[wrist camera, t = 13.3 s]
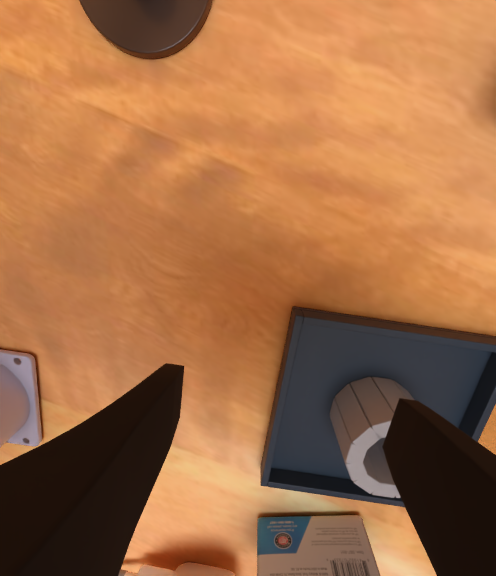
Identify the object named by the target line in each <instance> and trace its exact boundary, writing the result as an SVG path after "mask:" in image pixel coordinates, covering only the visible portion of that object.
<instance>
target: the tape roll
mask: <svg viewBox="0 0 496 576" xmlns="http://www.w3.org/2000/svg"><path fill="white" fill-rule="evenodd" d="M350 384H351V385H350ZM350 384H347V385H346V386H345V387H344V388H343V389H342V390H341V391H340V392H339V393H338V394H337V395H336V396H335V398H334V400H333V403H332V407H331V411H330V419H331V422H332V425H333V428H334V431H335V434H336V437H337V440H338V443H339V446H340V449H341V453H342V456H343V459H344V462H345V465H346V467H347V470H348V472H349V475H350V478H351V480H352V481H353V482H354V483H355V484H356V485H357V486H359V487H360V488H362V489H363V490H365V491H366V492H368V493H369V494H371V493H372V495H377V496H384V497H391V498H394V497H395V496H396V498H400V495H399V492H398V490H397V488H396V486H395V483H394V481H393V479H392V476H391V473H390V470H389V467H388V464H387V461H386V458H385V454H384V451H383V448H382V446H383V443H384V440H385V437H386V435H387V432H388V429H389V426H390V423H391V421H392V418H393V415H394V412H395V409H396V406H397V404H398V401H399V398H403V399H410V400H414V398H413V397H412V396H411V395H410V393H409V392H408V391H407V390H406V389H405V388H403V387H402V386H401V385H399V384H398V383H397V382H396V381H394V380H393V381H392V380H391V379H385V378H379V377H372V378H371V377H367V378H363V379H360V380H357V381H354V382H351V383H350Z"/></svg>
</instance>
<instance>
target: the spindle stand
mask: <svg viewBox="0 0 496 576" xmlns="http://www.w3.org/2000/svg"><path fill="white" fill-rule="evenodd" d="M79 1H80V3H81V5H82V7H83V9H84V11H85V13H86V14H87V16H88V18H89V19H90V21H91V22H92V23H93V25H94V26H95V27H96V28H97V29H98V31H99V32H100V33H101V34H102V35H103V36H104V37H105V38H106V39H107V40H108V41H109V42H110V43H112V44H113V45H114V46H116V47H117V48H118V49H120V50H122V51H124V52H125V53H128V54H130V55H133V56H136V57H141V58H149V59H153V58H162V57H166V56H169V55H171V54H174V53H176V52H178V51H179V50H181V49H182V48H184V47H185V46H186V45H187V44H188V43H190V42H191V41H192V39H193V38H194V37H195V36H196V35H197V33H198V32H199V30H200V29H201V27H202V26H203V24H204V22H205V20H206V18H207V15H208V12H209V10H210V7H211V3H212V0H79Z"/></svg>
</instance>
